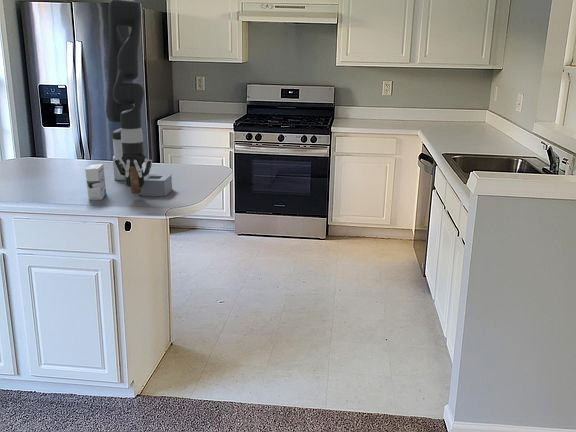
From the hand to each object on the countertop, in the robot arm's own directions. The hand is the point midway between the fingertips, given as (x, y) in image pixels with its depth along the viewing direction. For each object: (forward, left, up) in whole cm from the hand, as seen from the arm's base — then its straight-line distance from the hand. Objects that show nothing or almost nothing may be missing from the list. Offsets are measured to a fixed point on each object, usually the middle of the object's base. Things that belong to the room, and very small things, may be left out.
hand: (135, 186), depth 208 cm
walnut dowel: (0, 0, -2) cm, 2 cm away
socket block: (+4, +10, -5) cm, 12 cm away
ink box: (-16, +2, -5) cm, 17 cm away
